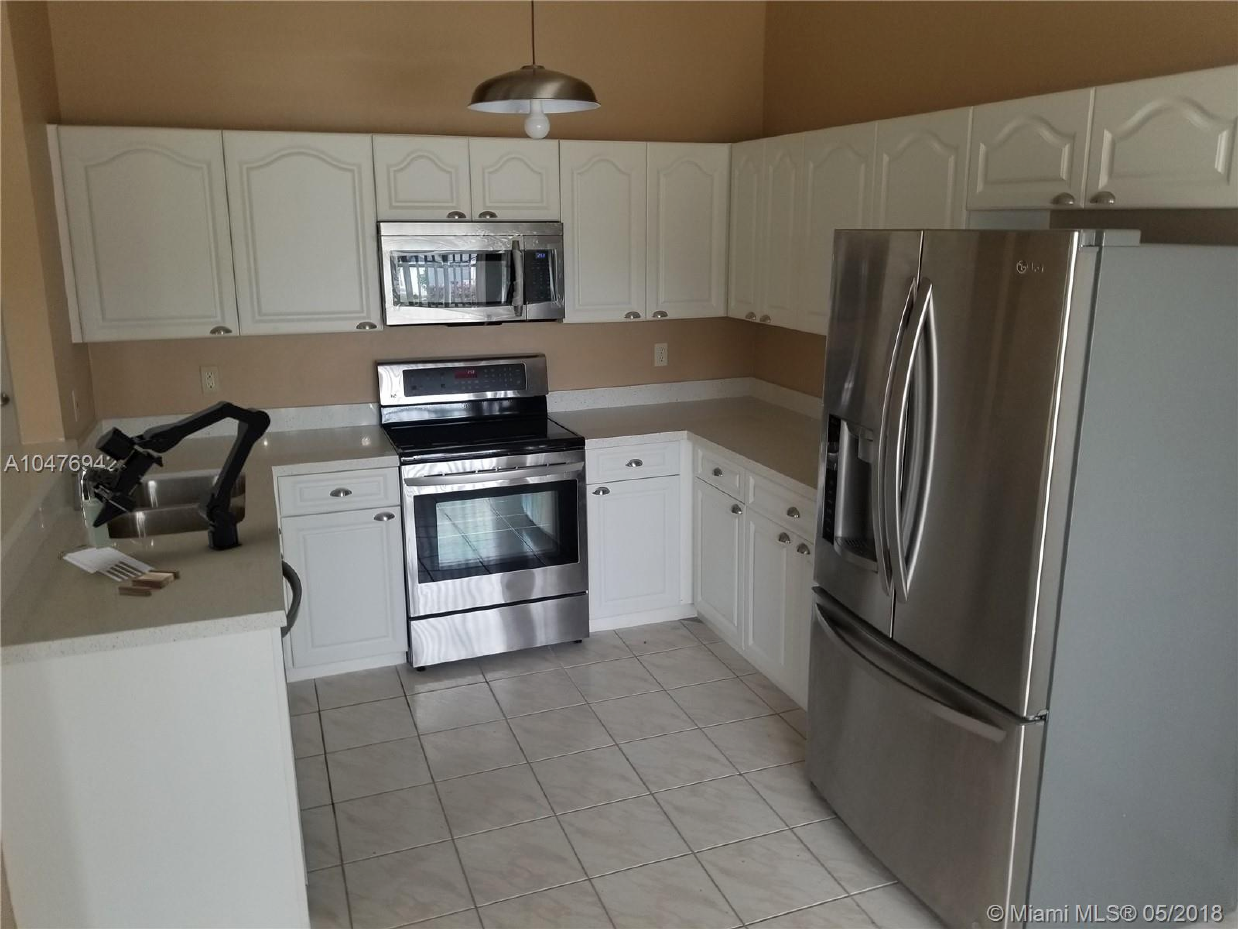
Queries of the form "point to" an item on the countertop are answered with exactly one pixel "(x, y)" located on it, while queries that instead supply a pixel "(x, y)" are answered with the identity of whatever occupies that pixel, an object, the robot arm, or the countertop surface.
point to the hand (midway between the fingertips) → (90, 523)
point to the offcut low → (168, 580)
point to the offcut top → (157, 576)
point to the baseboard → (104, 561)
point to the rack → (147, 584)
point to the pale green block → (96, 535)
